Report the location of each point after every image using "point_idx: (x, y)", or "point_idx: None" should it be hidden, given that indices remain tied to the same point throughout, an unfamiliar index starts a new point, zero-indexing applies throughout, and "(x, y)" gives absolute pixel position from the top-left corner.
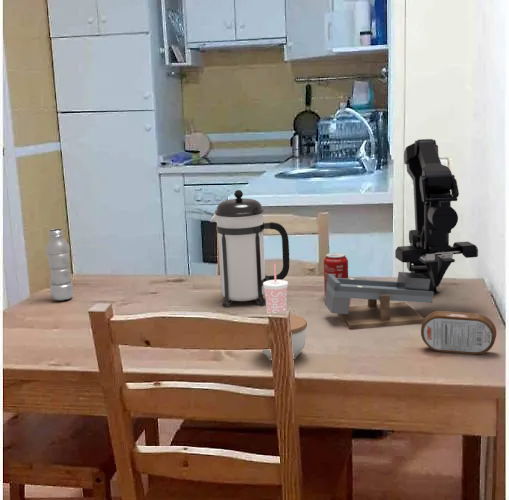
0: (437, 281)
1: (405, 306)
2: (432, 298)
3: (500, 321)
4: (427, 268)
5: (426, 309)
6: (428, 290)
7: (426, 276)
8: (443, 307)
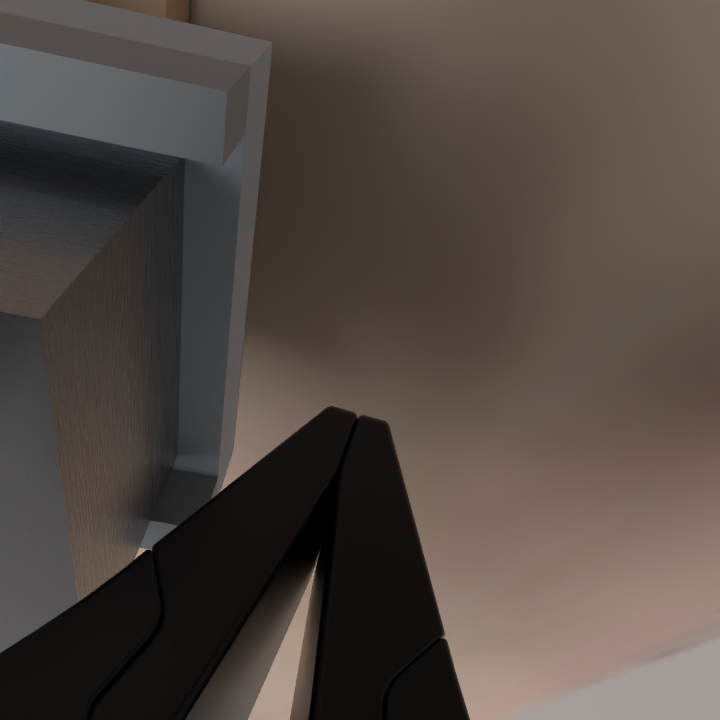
0: (310, 570)
1: (109, 4)
2: (219, 489)
3: (707, 640)
4: (32, 636)
5: (389, 92)
6: (152, 506)
7: (69, 556)
8: (629, 128)
